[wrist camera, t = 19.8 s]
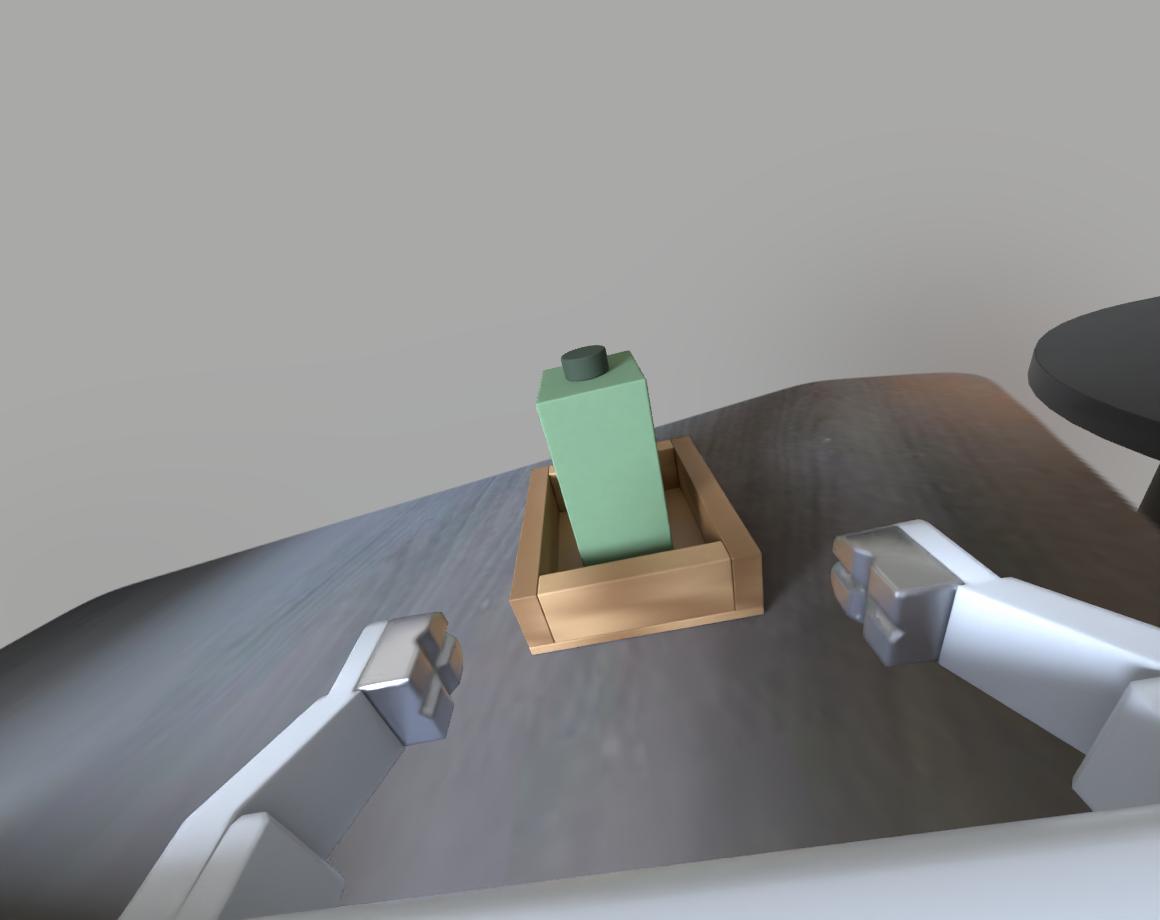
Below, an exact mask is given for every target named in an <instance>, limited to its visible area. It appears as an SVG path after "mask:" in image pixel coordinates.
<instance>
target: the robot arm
mask: <svg viewBox="0 0 1160 920" xmlns="http://www.w3.org/2000/svg"><path fill="white" fill-rule="evenodd" d="M832 552H833V553H834V554H835V555H836V557H837V558H838V559H839V560H838V561H837V563H836V564H835V565H834V566H833V567H832V568H831V583H832V587H833V590H834V594H835V596H836V598H837V600H838V602H839V604H840V606H841V607H842V609H843V610H844V611H845V613H846V614H847V616H848V617H850V618H852V619H854V620H856V621H858V622H860V623H862V624H864V629H863V637H864V638H865V640H866V641H867V642H868V644H869V645H870V646H871V648H872V649H873V650H874V651H875V653H876V654H877V655H878V657H879V658H880V659H881V661H882V662H883V663H884V665H885V666H886V667H894V666H902V665H909V664H917V663H925V662H932V661H938V664H940V665H941V666H943V667H945V668H946V669H948V670H949V671H951V672H953V673H954V674H956V675H957V676H959V677H961V678H962V679H964V680H966V681H967V682H969V683H970V684H972V685H974V686H975V687H977V688H979V689H980V690H982V691H983V692H985V693H987V694H988V695H990V696H991V697H993V698H995V699H996V700H998V701H1000V702H1001V703H1003V704H1004V705H1006V706H1008V707H1009V708H1011V709H1012V710H1014V711H1016V712H1017V713H1019V714H1021V715H1022V716H1024V717H1025V718H1027V719H1029V720H1030V721H1032V722H1034V723H1035V724H1037V725H1038V726H1040V727H1042V728H1043V729H1045V730H1046V731H1048V732H1050V733H1051V734H1053V735H1055V736H1056V737H1058V738H1059V739H1061V740H1063V741H1064V742H1066V743H1067V744H1069V745H1071V746H1072V747H1074V748H1076V749H1077V750H1079V751H1080V752H1082V753H1084V754H1085V755H1086V756H1085V758H1084V760H1083V761H1082V763H1081V765H1080V766H1079V768H1078V770H1077V771H1076V773H1075V775H1074V776H1073V782H1072V789H1073V790H1074V791H1075V792H1076V793H1077V794H1078V795H1079V796H1080V797H1081V799H1082V800H1083V801H1084V802H1085V803H1086V804H1087V805H1088V806H1089V807H1090V808H1091V810H1092V811H1093V812H1087V813H1079V814H1071V815H1063V816H1055V817H1047V818H1040V819H1032V820H1024V821H1016V822H1008V823H1000V824H992V825H984V826H976V827H968V828H960V829H952V830H944V831H936V832H929V833H921V834H913V835H905V836H897V837H889V838H881V839H873V840H865V841H857V842H849V843H841V844H833V845H826V846H818V847H810V848H802V849H794V850H786V851H778V852H770V853H762V854H754V855H746V856H738V857H730V858H722V859H715V860H707V861H699V862H691V863H683V864H675V865H667V866H659V867H651V868H643V869H635V870H627V871H619V872H611V873H604V874H596V875H588V876H580V877H572V878H564V879H556V880H548V881H540V882H532V883H524V884H517V885H509V886H501V887H493V888H485V889H477V890H469V891H461V892H453V893H446V894H438V895H430V896H422V897H414V898H406V899H398V900H390V901H382V902H374V903H367V904H359V905H351V906H343V907H338V905H339V902H340V899H341V896H342V893H343V890H344V887H345V881H344V878H343V875H342V874H340V873H339V872H338V871H337V870H336V869H334V868H333V867H332V866H331V865H330V864H328V863H327V862H326V859H327V858H328V857H329V855H330V854H331V852H332V851H333V850H334V848H335V847H336V845H337V844H338V842H339V841H340V840H341V838H342V837H343V835H344V834H345V833H346V831H347V830H348V828H349V827H350V826H351V824H352V823H353V821H354V820H355V819H356V817H357V816H358V814H359V813H360V812H361V810H362V809H363V807H364V806H365V805H366V803H367V802H368V800H369V799H370V798H371V796H372V795H373V793H374V792H375V791H376V789H377V788H378V786H379V785H380V784H381V782H382V781H383V779H384V778H385V777H386V775H387V774H388V772H389V771H390V770H391V768H392V767H393V765H394V764H395V763H396V761H397V760H398V758H399V757H400V756H401V754H402V753H403V751H404V750H405V747H404V746H409V745H414V744H419V743H424V742H430V741H435V740H440V739H445V738H446V735H447V731H448V727H449V723H450V720H451V716H452V712H453V708H454V703H453V701H452V699H451V696H450V694H451V693H452V692H453V691H454V690H455V688H456V687H457V686H458V685H459V684H460V680H461V676H462V671H463V654H462V650H461V646H460V644H459V642H458V640H457V638H456V637H455V636H453V635H451V634H449V633H447V632H446V629H447V626H448V622H447V620H446V618H445V617H444V615H443V613H442V612H431V613H425V614H419V615H413V616H407V617H401V618H395V619H392V620H386V621H379V622H373V623H371V624H369V625H368V626H367V627H365V628H364V630H363V632H362V634H361V636H360V637H359V639H358V641H357V643H356V645H355V647H354V649H353V650H352V652H351V654H350V656H349V658H348V660H347V661H346V663H345V665H344V667H343V669H342V671H341V672H340V674H339V676H338V678H337V680H336V682H335V684H334V685H333V687H332V689H331V691H330V693H329V695H328V696H325V697H320V698H319V699H318V700H317V701H316V702H315V703H314V704H313V705H311V706H310V707H309V708H308V709H307V710H306V711H305V712H304V713H303V714H302V715H300V716H299V717H298V718H297V719H296V720H295V721H294V722H293V723H292V724H291V725H289V726H288V727H287V728H286V729H285V730H284V731H283V732H282V733H281V734H280V735H278V736H277V737H276V738H275V739H274V740H273V741H272V742H271V743H270V744H268V745H267V746H266V747H265V748H264V749H263V750H262V751H261V752H260V753H259V754H257V755H256V756H255V757H254V758H253V759H252V760H251V761H250V762H249V763H248V764H246V765H245V766H244V767H243V768H242V769H241V770H240V771H239V772H238V773H237V774H235V775H234V776H233V777H232V778H231V779H230V780H229V781H228V782H227V783H226V784H224V785H223V786H222V787H221V788H220V789H219V790H218V791H217V792H216V793H214V794H213V795H212V796H211V797H210V798H209V799H208V800H207V801H206V802H205V803H203V804H202V805H201V806H200V807H199V808H198V809H197V810H196V811H195V812H194V813H192V814H191V815H190V816H189V817H188V818H187V819H186V820H185V821H184V822H183V824H182V825H181V827H180V828H179V830H178V831H177V833H176V834H175V836H174V837H173V839H172V840H171V841H170V843H169V844H168V846H167V847H166V849H165V850H164V852H163V853H162V855H161V856H160V858H159V859H158V861H157V862H156V864H155V865H154V867H153V868H152V870H151V871H150V873H149V874H148V876H147V877H146V879H145V880H144V882H143V883H142V885H141V886H140V888H139V889H138V891H137V892H136V894H135V895H134V897H133V898H132V899H131V901H130V902H129V904H128V905H127V907H126V908H125V910H124V911H123V913H122V914H121V916H120V917H119V919H118V920H1160V628H1159V627H1156V626H1153V625H1150V624H1147V623H1144V622H1141V621H1138V620H1136V619H1133V618H1130V617H1127V616H1124V615H1121V614H1118V613H1115V612H1112V611H1109V610H1106V609H1103V608H1100V607H1098V606H1095V605H1092V604H1089V603H1086V602H1083V601H1080V600H1077V599H1074V598H1071V597H1068V596H1065V595H1062V594H1060V593H1057V592H1054V591H1051V590H1048V589H1045V588H1042V587H1039V586H1036V585H1033V584H1030V583H1027V582H1024V581H1022V580H1019V579H1016V578H1013V577H1006V578H1000V577H999V576H997V575H996V574H995V573H993V572H992V571H991V570H989V569H988V568H987V567H986V566H984V565H983V564H982V563H980V562H979V561H978V560H976V559H975V558H974V557H973V556H971V555H970V554H969V553H967V552H966V551H965V550H963V549H962V548H961V547H960V546H958V545H957V544H956V543H954V542H953V541H952V540H950V539H949V538H948V537H947V536H945V535H944V534H943V533H941V532H940V531H939V530H937V529H936V528H935V527H933V526H932V525H931V524H930V523H928V522H926V521H923V520H920V519H917V520H912V521H907V522H902V523H897V524H892V525H890V526H883V527H878V528H873V529H868V530H863V531H858V532H853V533H848V534H843V535H838V536H836V538H835V539H834V541H833V550H832Z"/></svg>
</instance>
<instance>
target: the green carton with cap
mask: <svg viewBox="0 0 1160 920" xmlns="http://www.w3.org/2000/svg"><path fill="white" fill-rule="evenodd" d="M561 362H562V366H561V367H557V368H552V369H548V370H544V371H543V373H542V378H541V382H540V388H539V393H538V397H537V402H536V408H537V411H538V414H539V418H540V421H541V424H542V428H543V431H544V434H545V438H546V441H547V445H548V447H549V451H550V455H551V458H552V461H553V465H554V468H555V472H556V475H557V478H558V482H559V485H560V488H561V492H562V495H563V498H564V502H565V505H566V509H567V512H568V515H569V519H570V522H571V525H572V529H573V532H574V535H575V539H576V542H577V546H578V549H579V552H580V556H581V559H582V562H583V566H584V567H588V566H593V565H598V564H603V563H608V562H613V561H619V560H624V559H629V558H634V557H639V556H645V555H650V554H655V553H660V552H665V551H670V550H674V548H673V542H672V536H671V529H670V523H669V517H668V511H667V505H666V498H665V492H664V486H663V480H662V474H661V468H660V461H659V455H658V449H657V443H656V437H655V430H654V424H653V418H652V412H651V406H650V400H649V393H648V387H647V381H646V379H645V377H644V375H643V373H642V372H641V370H640V368H639V367H638V365H637V363H636V361H635V360H634V358H633V356H632V354H631V352H630V351H624V352H620V353H616V354H611V355H607V354H606V349H605V347H603V346H599V345H595V346H594V345H593V346H587V347H582V348H578V349H575V350H572V351H569V352H568V353H566V354H564V355H563V356H562V357H561Z"/></svg>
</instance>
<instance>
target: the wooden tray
mask: <svg viewBox="0 0 1160 920" xmlns="http://www.w3.org/2000/svg"><path fill="white" fill-rule="evenodd" d="M657 449H658V455H659V461H660V468H661V474H662V480H663V486H664V492H665V498H666V505H667V511H668V517H669V523H670V529H671V536H672V542H673V548H674V550H670V551H665V552H660V553H655V554H650V555H645V556H639V557H634V558H629V559H624V560H619V561H613V562H608V563H603V564H598V565H593V566H588V567H584V566H583V562H582V559H581V556H580V552H579V549H578V546H577V542H576V539H575V535H574V532H573V529H572V525H571V522H570V519H569V515H568V512H567V509H566V505H565V502H564V498H563V495H562V492H561V488H560V485H559V482H558V478H557V475H556V472H555V468H554V465H550V466H545V467H540V468H536V469H532V471H531V477H530V483H529V489H528V495H527V501H526V506H525V512H524V518H523V524H522V530H521V536H520V542H519V548H518V553H517V559H516V565H515V571H514V577H513V583H512V589H511V595H510V603H511V606H512V608H513V610H514V613H515V615H516V617H517V620H518V622H519V624H520V627H521V629H522V631H523V634H524V636H525V638H526V641H527V643H528V645H529V647H530V650H531V652H532V654H533V655H535V654H541V653H546V652H552V651H558V650H563V649H569V648H575V647H580V646H586V645H592V644H597V643H603V642H609V641H614V640H620V639H626V638H631V637H637V636H643V635H648V634H654V633H660V632H665V631H671V630H677V629H682V628H688V627H694V626H699V625H705V624H711V623H716V622H722V621H728V620H733V619H739V618H745V617H750V616H756V615H762V614H764V606H763V605H764V601H763V574H762V553H761V551H760V549H759V548H758V546H757V545H756V543H755V541H754V540H753V538H752V537H751V535H750V533H749V532H748V530H747V529H746V527H745V525H744V524H743V522H742V521H741V519H740V517H739V516H738V514H737V513H736V511H735V509H734V508H733V506H732V505H731V503H730V501H729V500H728V498H727V496H726V495H725V493H724V492H723V490H722V488H721V487H720V485H719V484H718V482H717V480H716V479H715V477H714V476H713V474H712V472H711V471H710V469H709V468H708V466H707V464H706V463H705V461H704V460H703V458H702V456H701V455H700V453H699V452H698V450H697V448H696V447H695V445H694V443H693V442H692V440H691V439H690V437H689V436H684V437H679V438H675V439H671V440H666V441H661V442H657Z"/></svg>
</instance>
